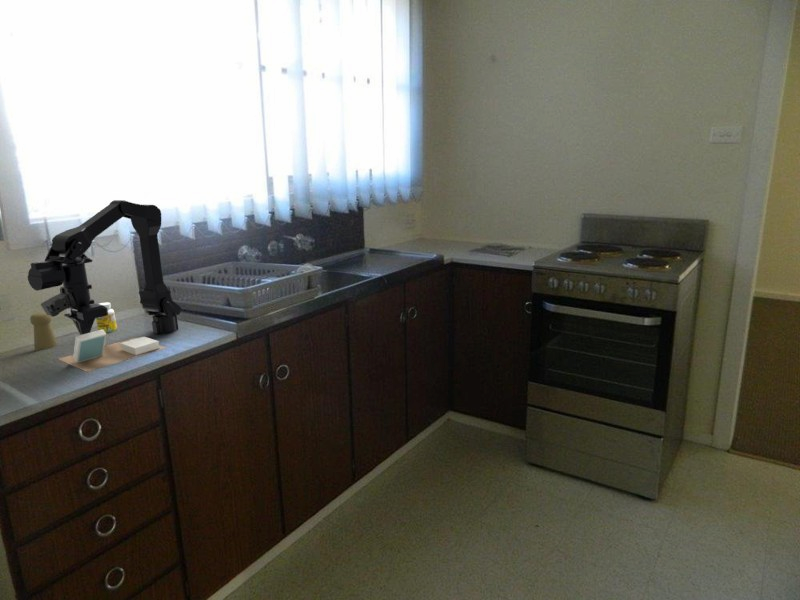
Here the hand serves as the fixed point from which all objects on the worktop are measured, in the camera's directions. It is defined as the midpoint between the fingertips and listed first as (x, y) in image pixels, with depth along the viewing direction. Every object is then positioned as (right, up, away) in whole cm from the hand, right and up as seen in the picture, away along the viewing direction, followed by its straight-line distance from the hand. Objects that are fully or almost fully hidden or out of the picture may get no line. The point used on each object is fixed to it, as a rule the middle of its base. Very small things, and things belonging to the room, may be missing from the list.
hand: (85, 339), depth 157 cm
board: (+5, -5, +5) cm, 9 cm away
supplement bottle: (-7, 0, +27) cm, 28 cm away
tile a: (+8, -2, +10) cm, 13 cm away
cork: (-18, -4, +14) cm, 23 cm away
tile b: (0, -5, +1) cm, 5 cm away
